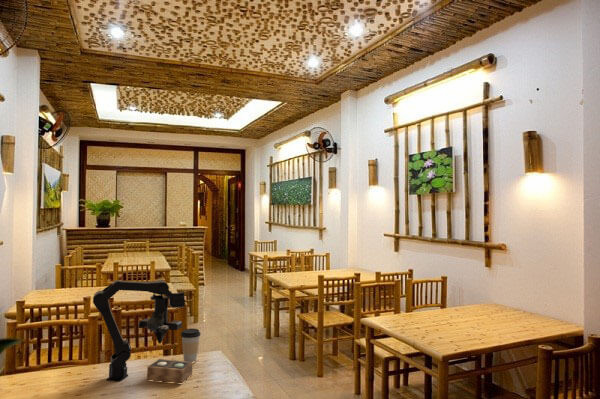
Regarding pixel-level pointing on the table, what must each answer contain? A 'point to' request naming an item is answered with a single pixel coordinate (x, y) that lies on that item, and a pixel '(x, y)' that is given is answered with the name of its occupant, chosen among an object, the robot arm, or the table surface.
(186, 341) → the coffee cup
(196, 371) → the table surface
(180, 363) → the sage peg
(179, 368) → the walnut block
